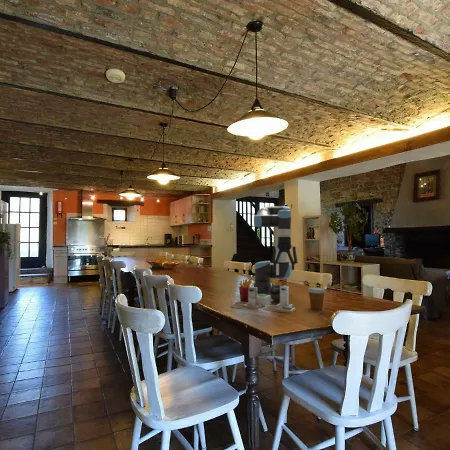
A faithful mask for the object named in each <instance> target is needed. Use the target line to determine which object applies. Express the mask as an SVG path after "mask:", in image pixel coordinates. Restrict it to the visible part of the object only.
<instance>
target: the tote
mask: <svg viewBox="0 0 450 450" xmlns="http://www.w3.org/2000/svg"><path fill="white" fill-rule="evenodd" d="M275 306H280V302H278V304H276V305H275ZM293 306H294V305H293V304H292V303H289V306H283V307H292V308H294V307H293Z"/></svg>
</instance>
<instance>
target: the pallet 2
mask: <svg viewBox="0 0 450 450" xmlns="http://www.w3.org/2000/svg"><path fill="white" fill-rule="evenodd" d="M296 310H297V309H296V307H283V306H276V305H273V304H270V305H267V306H263V311H271V312H278V313H286V314H287V313H288V314H293V313H294V312H296Z"/></svg>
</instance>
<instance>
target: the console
mask: <svg viewBox="0 0 450 450" xmlns="http://www.w3.org/2000/svg"><path fill="white" fill-rule="evenodd" d="M271 300H272V299H271V295H269V294H266V297H260V296H258V294H257V304H262V307H266V306H267V305H272V303H271Z"/></svg>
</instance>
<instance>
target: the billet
mask: <svg viewBox="0 0 450 450" xmlns="http://www.w3.org/2000/svg"><path fill="white" fill-rule="evenodd" d="M289 289H290V287H289V285H283V286H280V302H279V303H280V306H289V304H290V301H289V300H290V296H289V295H290V290H289Z"/></svg>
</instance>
